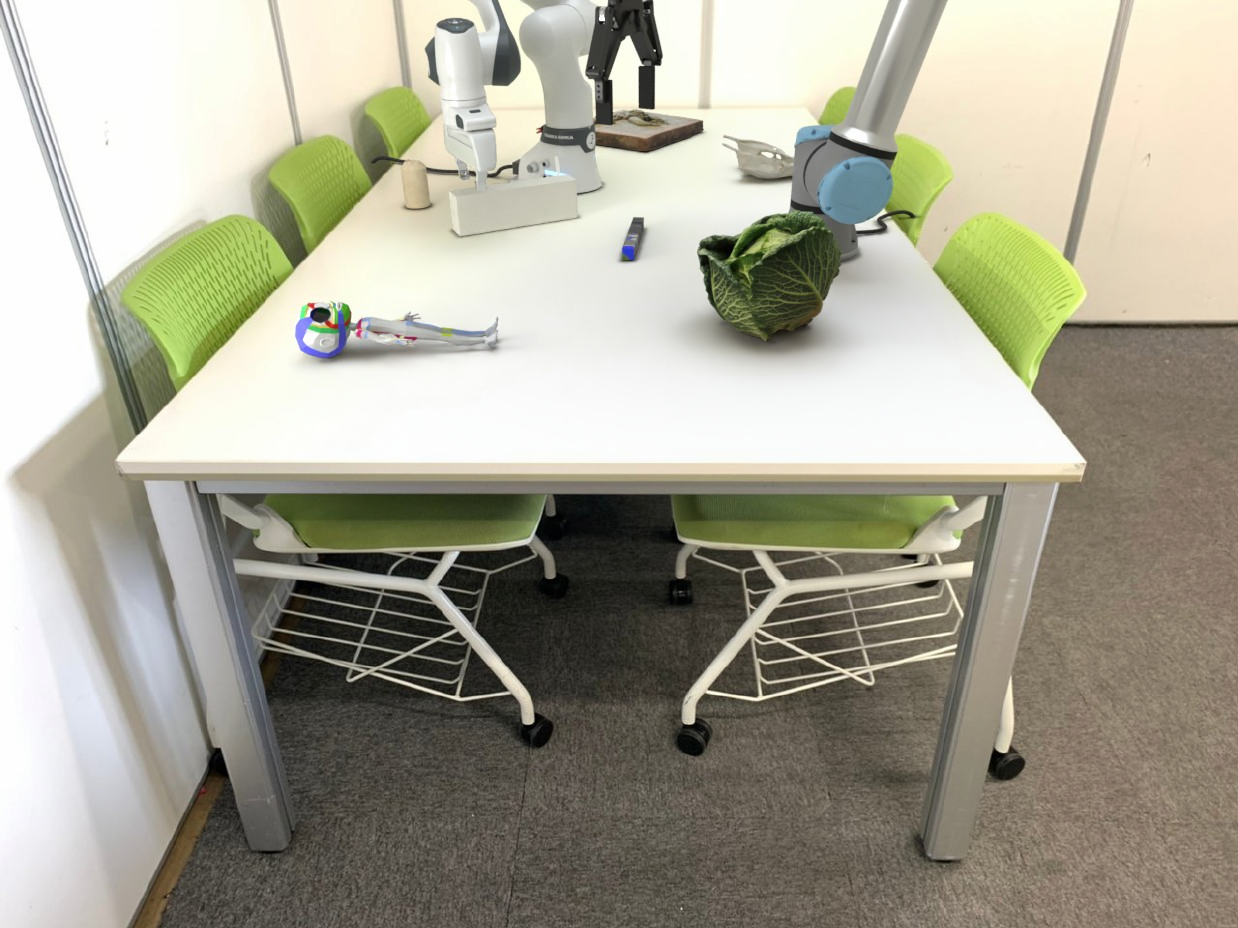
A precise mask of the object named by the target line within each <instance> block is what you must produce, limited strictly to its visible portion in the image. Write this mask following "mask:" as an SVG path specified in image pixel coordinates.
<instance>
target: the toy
mask: <svg viewBox="0 0 1238 928" xmlns="http://www.w3.org/2000/svg"><path fill="white" fill-rule="evenodd" d="M411 313H412V311H411V310H410V311H409V312H408V313H406V314H405V315H404V316H403V317H402V318H396V319H391V320H389V319H384V318H380V317H379V318H377V317H374V316H365V317H361V318H360V319H358V321H357V322H352V311H351V308H350V306H349V304H347V303H344V302H342V301H337V302H336V303H335V302H333V301H332V300H330V303H329V302H308V303H306V304H305V305H302V307H301V308H300V311H299V313H298V315H297V318H296V320H295V321H294V325H293V337H294V340H295V342H296V344H297V346H298V348H299V350H300V351H301V352H303V353H305V354H306V355H308V356H312V357H316V358H322V359H329V358H332V357H334V356H337V355H340V354H341V353H342V351H343V350H344V348H345V347H346V346H347V343H348V339H349V337H350V335H351V331H352V332H353V333H354V336H355V337H356V338H358V339H359V340H369V341H371V342H376V343H379V344H382V345H404V346H409V347H412V348H414V346H416V343H414V342H415V341H417V340H424V341H434V342H435V341H437V342H443V343H448V344H451V345H455V346H476V345H482V344H485V345H486V346H489V347H491V348H494V347H495V345H496V343H497V341H498V333H499V330H498V329H497V328H498V326H499V325H498V322H499V317H498V316H496V317H495V321H494V323H493V324H492V325H491V326H490V327H489V328H487V329H486V330H465V329H458V328H453V327H439V326H437V325H433V324H430V323H424V322H418V321H415V320H421V319H422V317H419V315H420V313H416V314H412V315H411ZM416 316H418V317H416ZM381 335H392V336H394V337H391V336H381Z"/></svg>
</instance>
